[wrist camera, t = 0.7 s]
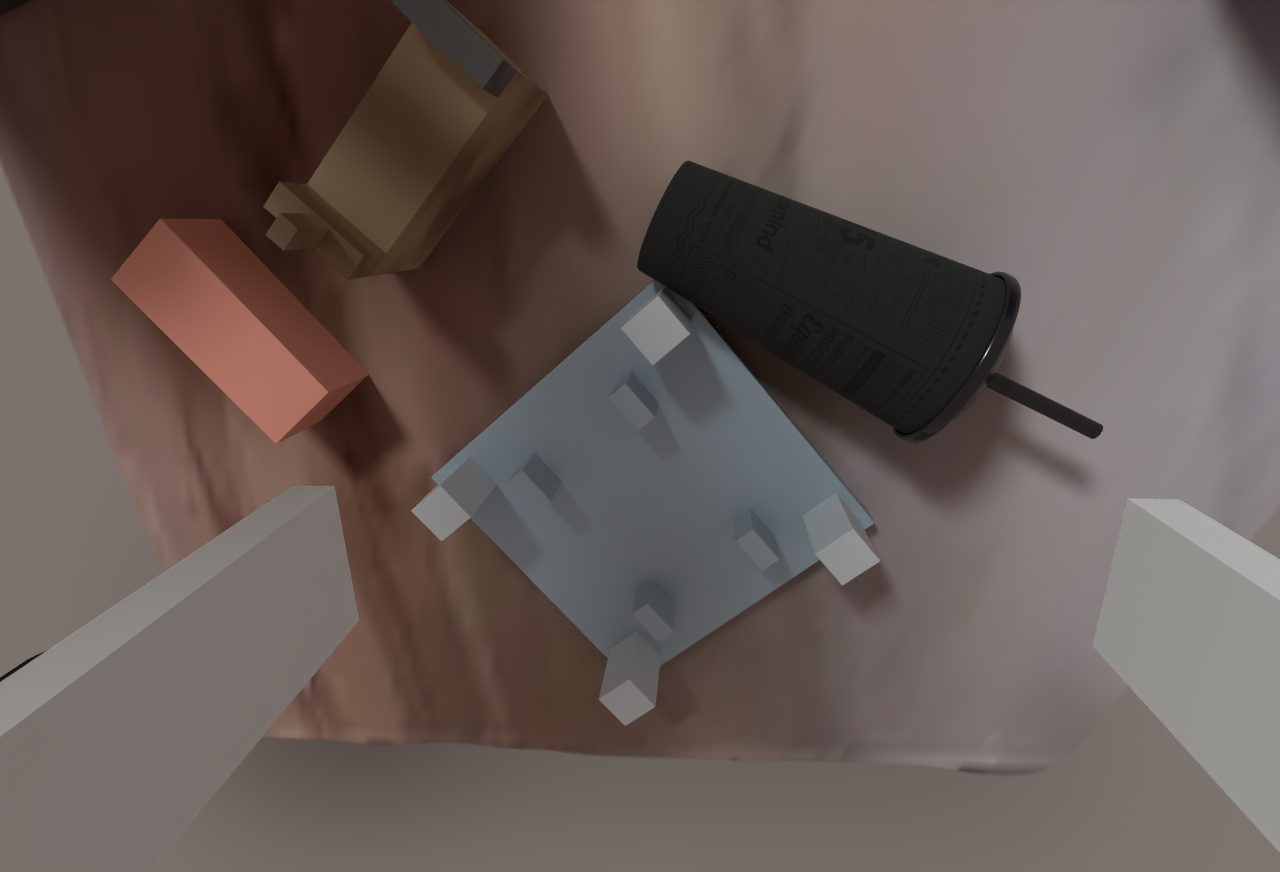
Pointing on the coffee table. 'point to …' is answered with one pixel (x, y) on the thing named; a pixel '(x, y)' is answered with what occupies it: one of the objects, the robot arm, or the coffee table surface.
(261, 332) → the red rectangular block
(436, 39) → the brown blocky piece
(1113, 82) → the coffee table surface
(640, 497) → the jig
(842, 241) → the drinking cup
